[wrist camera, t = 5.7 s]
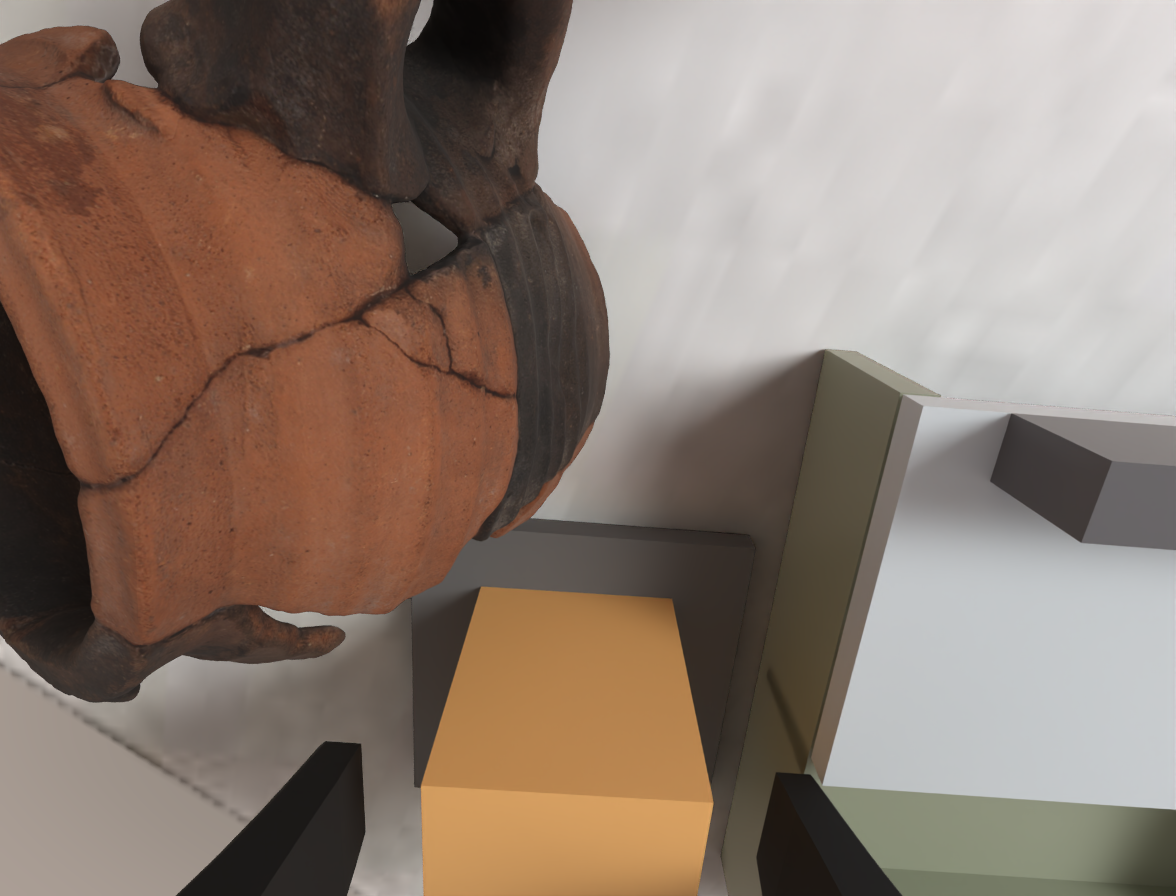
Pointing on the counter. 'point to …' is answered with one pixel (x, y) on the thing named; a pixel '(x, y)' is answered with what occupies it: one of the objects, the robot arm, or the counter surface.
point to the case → (802, 677)
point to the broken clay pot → (274, 324)
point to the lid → (1013, 610)
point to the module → (567, 753)
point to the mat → (598, 566)
